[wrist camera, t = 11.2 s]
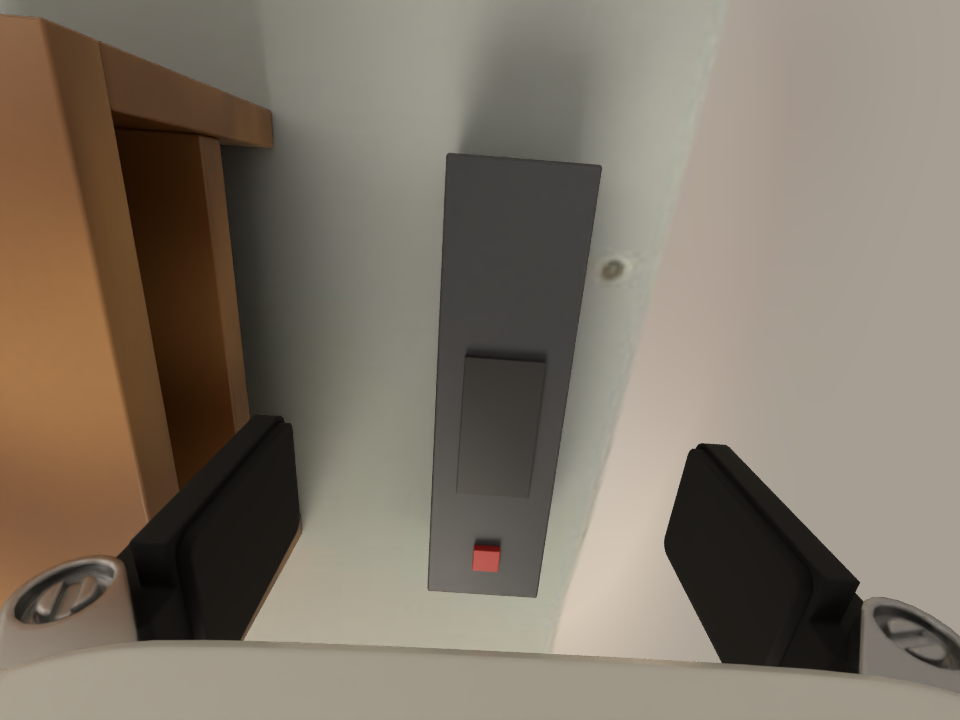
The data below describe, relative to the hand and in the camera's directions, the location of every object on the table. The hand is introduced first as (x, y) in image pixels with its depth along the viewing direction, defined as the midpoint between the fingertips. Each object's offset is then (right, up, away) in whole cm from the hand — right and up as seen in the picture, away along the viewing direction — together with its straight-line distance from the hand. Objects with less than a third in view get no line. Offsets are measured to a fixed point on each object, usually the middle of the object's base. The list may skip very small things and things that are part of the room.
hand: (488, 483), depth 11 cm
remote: (+1, +2, +8) cm, 8 cm away
